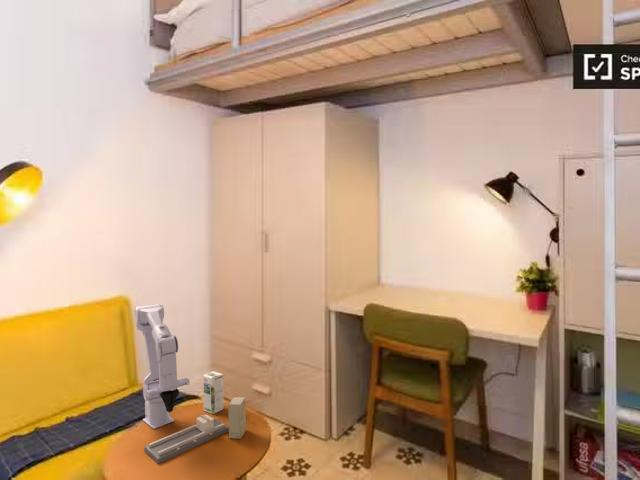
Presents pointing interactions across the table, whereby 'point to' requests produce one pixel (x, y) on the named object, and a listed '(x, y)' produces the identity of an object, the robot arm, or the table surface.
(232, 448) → the table surface
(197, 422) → the fader tab
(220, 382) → the syrup box
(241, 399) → the skincare box
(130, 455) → the table surface
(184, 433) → the gray slider track
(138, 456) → the table surface
